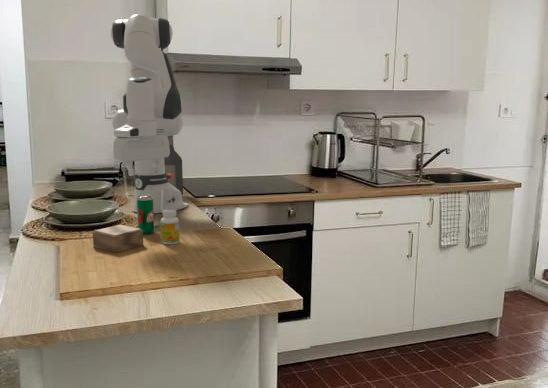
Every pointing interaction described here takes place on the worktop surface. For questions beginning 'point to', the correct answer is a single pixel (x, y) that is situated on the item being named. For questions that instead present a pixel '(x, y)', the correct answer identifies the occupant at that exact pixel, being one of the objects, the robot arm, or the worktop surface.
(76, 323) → the worktop surface
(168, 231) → the supplement bottle
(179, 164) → the liquor
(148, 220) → the soda can
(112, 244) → the walnut block
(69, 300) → the worktop surface
